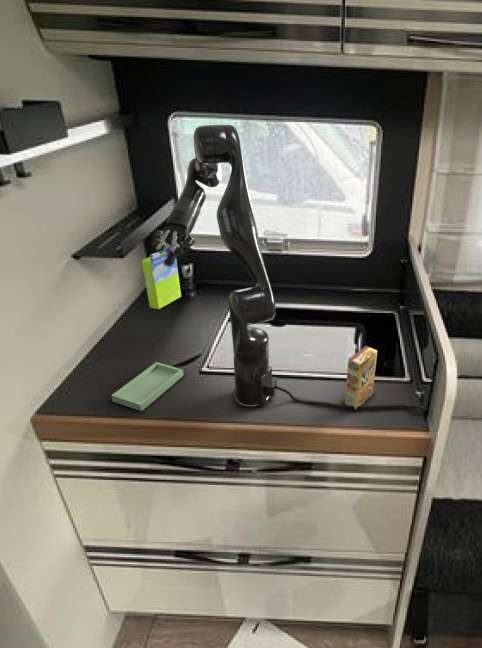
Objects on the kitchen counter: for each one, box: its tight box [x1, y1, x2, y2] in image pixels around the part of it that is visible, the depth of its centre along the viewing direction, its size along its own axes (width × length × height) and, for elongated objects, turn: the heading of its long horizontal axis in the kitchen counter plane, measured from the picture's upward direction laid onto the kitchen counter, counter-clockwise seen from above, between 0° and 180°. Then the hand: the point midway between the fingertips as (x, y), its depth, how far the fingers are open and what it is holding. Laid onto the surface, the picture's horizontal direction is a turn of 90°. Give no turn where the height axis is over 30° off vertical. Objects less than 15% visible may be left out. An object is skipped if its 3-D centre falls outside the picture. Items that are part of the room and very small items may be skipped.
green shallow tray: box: [111, 361, 185, 412], centre depth 112 cm, size 10×17×2 cm, turn 161°
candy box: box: [344, 345, 378, 410], centre depth 111 cm, size 9×4×15 cm, turn 144°
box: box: [140, 246, 182, 310], centre depth 120 cm, size 10×4×17 cm, turn 161°
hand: (161, 263), depth 119 cm, fingers closed on box, 4 cm apart
